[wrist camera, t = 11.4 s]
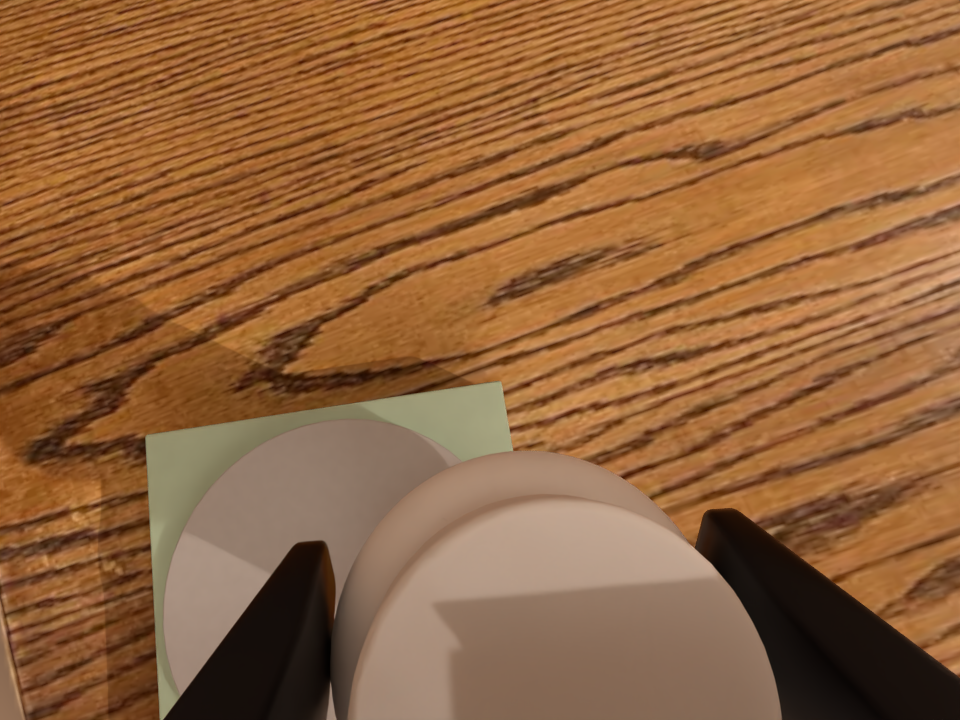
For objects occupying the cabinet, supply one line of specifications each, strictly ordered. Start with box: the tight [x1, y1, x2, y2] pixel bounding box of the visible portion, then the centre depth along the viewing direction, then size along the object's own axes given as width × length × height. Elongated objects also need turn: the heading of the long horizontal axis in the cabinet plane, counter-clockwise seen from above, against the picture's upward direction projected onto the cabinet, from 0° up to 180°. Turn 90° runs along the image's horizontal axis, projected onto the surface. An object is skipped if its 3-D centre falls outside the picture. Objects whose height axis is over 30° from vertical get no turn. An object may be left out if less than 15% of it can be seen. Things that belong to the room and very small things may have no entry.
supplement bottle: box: [330, 451, 782, 720], centre depth 10 cm, size 5×5×10 cm
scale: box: [145, 381, 513, 720], centre depth 18 cm, size 11×11×3 cm
